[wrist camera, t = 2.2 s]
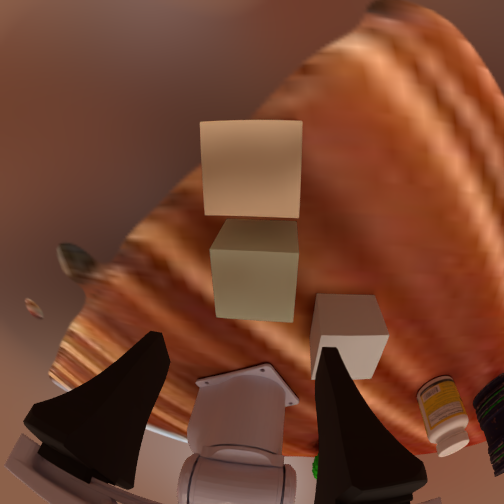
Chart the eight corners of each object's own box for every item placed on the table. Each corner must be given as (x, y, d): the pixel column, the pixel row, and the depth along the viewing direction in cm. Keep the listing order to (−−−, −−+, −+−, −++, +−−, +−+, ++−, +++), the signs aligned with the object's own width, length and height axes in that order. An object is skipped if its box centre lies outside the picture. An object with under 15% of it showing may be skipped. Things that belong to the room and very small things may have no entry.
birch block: (296, 193, 19) (298, 218, 14) (224, 191, 19) (204, 215, 15) (298, 120, 17) (302, 121, 12) (222, 120, 17) (199, 121, 13)
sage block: (292, 280, 22) (292, 322, 18) (230, 277, 23) (216, 317, 18) (296, 220, 20) (299, 253, 15) (226, 218, 20) (209, 249, 16)
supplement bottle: (443, 395, 28) (461, 452, 19) (411, 402, 29) (424, 464, 20) (458, 370, 25) (482, 432, 17) (424, 378, 26) (444, 445, 17)
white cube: (361, 337, 24) (370, 378, 20) (309, 337, 25) (311, 379, 20) (374, 294, 22) (389, 335, 17) (316, 292, 22) (321, 335, 18)
